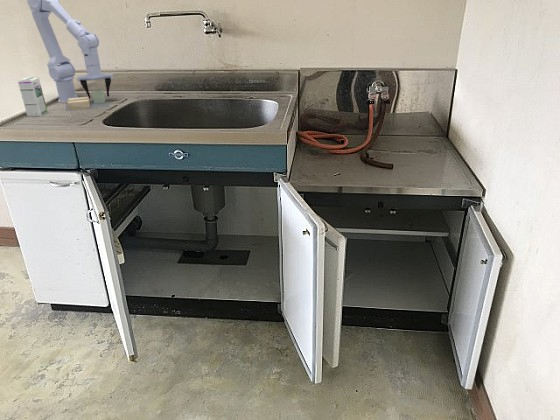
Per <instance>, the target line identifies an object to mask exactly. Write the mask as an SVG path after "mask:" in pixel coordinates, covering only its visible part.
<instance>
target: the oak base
mask: <svg viewBox="0 0 560 420" xmlns="http://www.w3.org/2000/svg"><path fill="white" fill-rule="evenodd" d="M90 101H91V100H90V98H89V97H88V96H82V97H78V98H69V99H68V101H67V103H68V105H69V110H73V111H77V110H76V109H83V110H87V109H86V108H90Z"/></svg>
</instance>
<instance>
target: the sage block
mask: <svg viewBox="0 0 560 420" xmlns="http://www.w3.org/2000/svg"><path fill="white" fill-rule="evenodd" d="M91 94H92V99H93V101H94V103H104V102H105V100H106V99H105V93H104V89H103V88H97V89H91Z"/></svg>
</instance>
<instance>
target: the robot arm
mask: <svg viewBox="0 0 560 420" xmlns="http://www.w3.org/2000/svg"><path fill="white" fill-rule="evenodd" d="M26 1H27V5H28V7H29V10H30V11H31V14H32V18H33V20H34V24H35V25H36V27H37V30H38V32H39V36H40V38H41V40H42V42H43V45H44V47H45V50H46V51H47V54H48V57H49V60H48V62H47V64H46V66H47V68H48V75H49V76H50V78H51V79H52V80H53V82H55V86H56V90H57V91H56V92H57V95H58V101H57V102H68V99H69V98H79V97H78V95H77V93H76V88H75V83H74V79H75V75H76V69H75V67H74V65H73V64H72V63H71V60H70V58H68V57H66V55H64V54H63V52H62V49H61V47H60V43H59V41H58V39H57V36H56V33H55V32H54V30H53V27H52V24H51V22H50V20H49V16H50V15H51V14H52V13H53V14H54V15H55V16H56V17H57V18H58V19H60V21H62V22H63V23H64V24H65V26H66V27H65V28H66V30H67V31H68V33H70V34H71V36H73V38H74V39H75V40H77V45H78V47H79V48H80V50H81V53H82V54H83V61H84V64H85V69H86V75H80V76H76V81H77V83H78V82H79V83H80V85H81V86H82V89H84V91H85V92H86V95H87V97H89V99H91V94H90V91H89V86H88V82H87V81H89V82H90V81H99V80H104V83H105V89H106V96H107V97H110V87H111V84H112V80H113V79H114V74H113V73H102V69H101V63H100V59H99V53H98V46H99V44H100V41H99V40H100V39H99V38H98V36H97V35H96V34H95V33H92V32H90V31H88V29H86V28H85V26H83V24H81V21H80V20H78V19H73V18H72V17H71V16H70V14H69V13H68V11H66V9H65V8H64V7H63V6H62V5H61V4H60V1H59V0H26Z"/></svg>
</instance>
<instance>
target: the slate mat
mask: <svg viewBox="0 0 560 420" xmlns="http://www.w3.org/2000/svg"><path fill="white" fill-rule="evenodd" d="M89 101H90V108H86V109H85V110H92V109H101V108H109V107H110V104H109V100H108V99H105V102H104V103H94V100H89ZM81 110H82V111H83V110H84V109H76V110H75V111H81ZM70 111H71V112H72V111H74V110H69V105H68V102H67V103H65V112H70Z"/></svg>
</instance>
